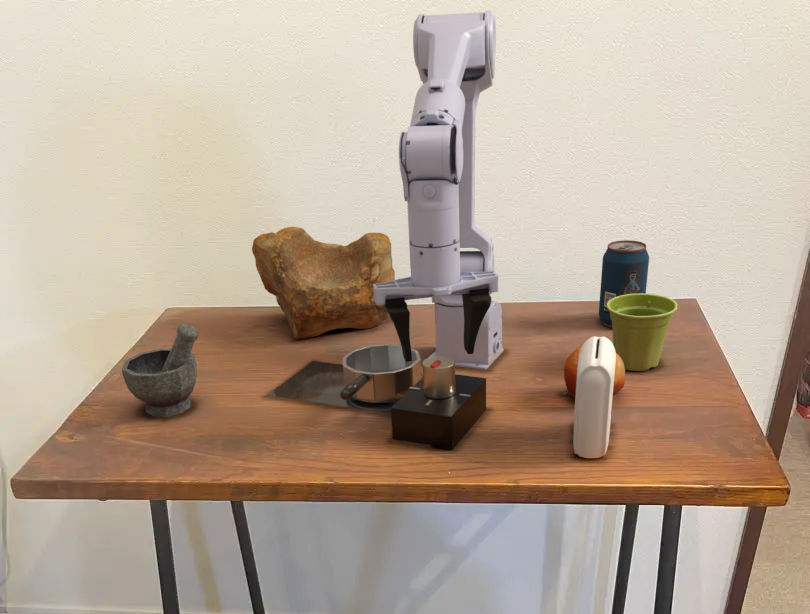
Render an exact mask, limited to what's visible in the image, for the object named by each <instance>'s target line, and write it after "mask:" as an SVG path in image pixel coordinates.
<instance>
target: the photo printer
mask: <svg viewBox="0 0 810 614" xmlns="http://www.w3.org/2000/svg"><path fill="white" fill-rule="evenodd" d="M582 345H583V346H582V348H581V350H580V354H579V358H578V366H577V381H576V396H575V397H574V398H575V399H574V414H573V436H572V437H573V438H572V439H573V441H572V444H573V445H572V447H573V451H574V454H575V455H577V456H578V457H580V458H585V459H600V458H601V457H602V456H605V455H606V454H607V451H608V448H609V443H610V442H609V441H610V435H611V423H612V422H611V421H612V408H613V397H614V396H613V386H614V375H615V364H616V352H615V348H614V345H613V341H611V340H610V339H609V338H608V337H607V336H604V335H603V336H595V335H593V336H590V337H589V338H587V340H585V341H584V343H583V344H582Z"/></svg>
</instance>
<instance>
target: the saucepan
mask: <svg viewBox="0 0 810 614" xmlns="http://www.w3.org/2000/svg"><path fill="white" fill-rule="evenodd" d="M411 353H412V361H409V362H406V361H405V359H404V357H403V352H402V347H401V344H393V343H380V344H369V345H366V346H362V347H359V348H356V349H353V350H351V351H349V352H348V353H347V354H345V355H344V356H343V357H342V361H341V362H342V365H343V371H344V382H345V388H344V389H343V390H342V391H341V392H340V397H341V398H342V399H343V400H348V399H349V398H354V399H357V400H360V401H363V402H370V403H391V404H395V403H396V402H397V401H398V400H400V399H401V398H402V397H403V396H404V395H405V394H406V393H407V392H408V391H409V390H410V389H409V388H410V387H413V386H414V385H415V384H416V383H417V382H418V381H419V380H421V379H422V378H421V375H422V360H421V356H420V355H421V354H420V351H418V350H417V349H415V348H412V347H411Z"/></svg>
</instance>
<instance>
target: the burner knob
mask: <svg viewBox="0 0 810 614" xmlns="http://www.w3.org/2000/svg"><path fill="white" fill-rule="evenodd" d="M421 369H422V375H423V390H424V395H425V396H427V397H429V398H434V399H443V398H448V397H451V396H453V395H454V394H455V392H456V388H455V374H456V366H455V361H454V359H452V358H450V357H446V356H434V357H430V358H428V357H427V358H425V359H423V360H422V361H421Z"/></svg>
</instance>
